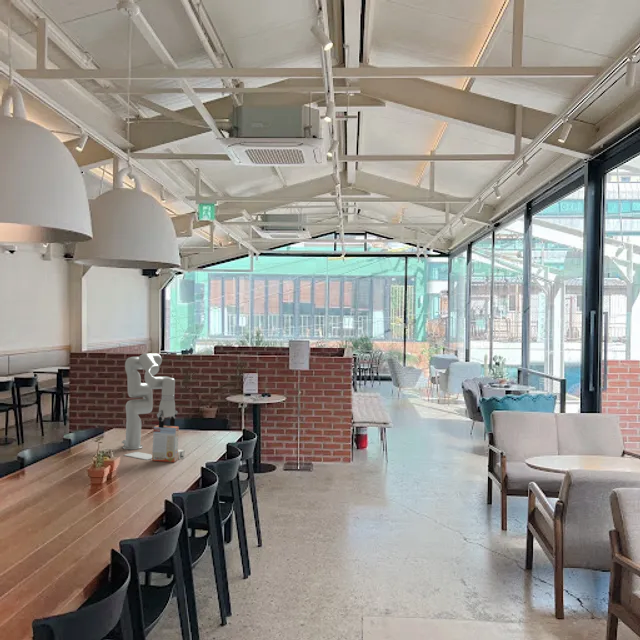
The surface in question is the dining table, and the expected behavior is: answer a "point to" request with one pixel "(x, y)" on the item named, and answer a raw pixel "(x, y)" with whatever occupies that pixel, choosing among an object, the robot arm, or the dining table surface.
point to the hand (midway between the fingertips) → (166, 426)
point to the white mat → (140, 455)
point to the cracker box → (165, 443)
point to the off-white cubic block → (180, 454)
